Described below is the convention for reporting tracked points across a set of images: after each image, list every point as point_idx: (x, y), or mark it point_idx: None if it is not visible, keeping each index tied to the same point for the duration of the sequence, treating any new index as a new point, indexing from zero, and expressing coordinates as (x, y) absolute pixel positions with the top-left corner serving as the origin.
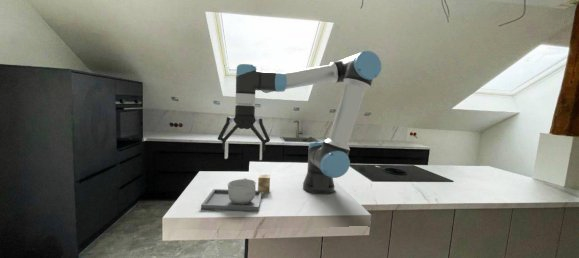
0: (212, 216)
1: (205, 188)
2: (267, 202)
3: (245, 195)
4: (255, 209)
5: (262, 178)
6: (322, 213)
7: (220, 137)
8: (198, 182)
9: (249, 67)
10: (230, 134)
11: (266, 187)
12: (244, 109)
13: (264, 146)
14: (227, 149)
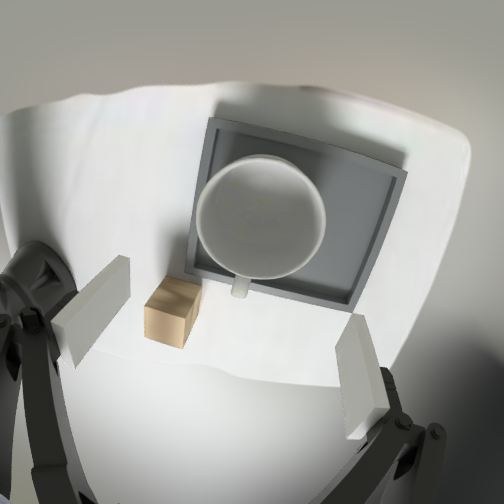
0: (368, 105)
1: None
2: (175, 194)
3: (251, 155)
4: (222, 119)
5: (171, 312)
6: (52, 109)
7: (430, 442)
8: None
9: None
10: (352, 477)
11: (167, 289)
12: None
13: (52, 310)
14: (351, 374)
